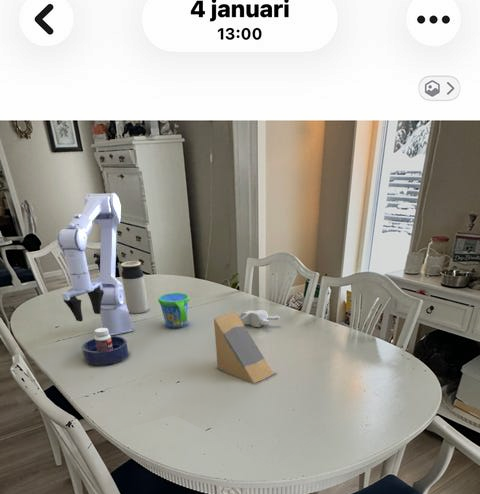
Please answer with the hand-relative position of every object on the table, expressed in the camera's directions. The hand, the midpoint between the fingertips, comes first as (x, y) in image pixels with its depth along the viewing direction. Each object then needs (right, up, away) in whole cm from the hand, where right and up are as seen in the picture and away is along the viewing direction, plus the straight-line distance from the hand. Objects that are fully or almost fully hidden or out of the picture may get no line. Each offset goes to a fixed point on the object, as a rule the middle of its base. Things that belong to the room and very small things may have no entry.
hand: (88, 317), depth 147 cm
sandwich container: (+49, -19, -13) cm, 55 cm away
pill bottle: (+6, -13, -2) cm, 14 cm away
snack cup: (+25, +3, +22) cm, 33 cm away
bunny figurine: (+54, +2, +19) cm, 57 cm away
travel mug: (+7, +12, +38) cm, 41 cm away
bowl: (+6, -13, -1) cm, 14 cm away
